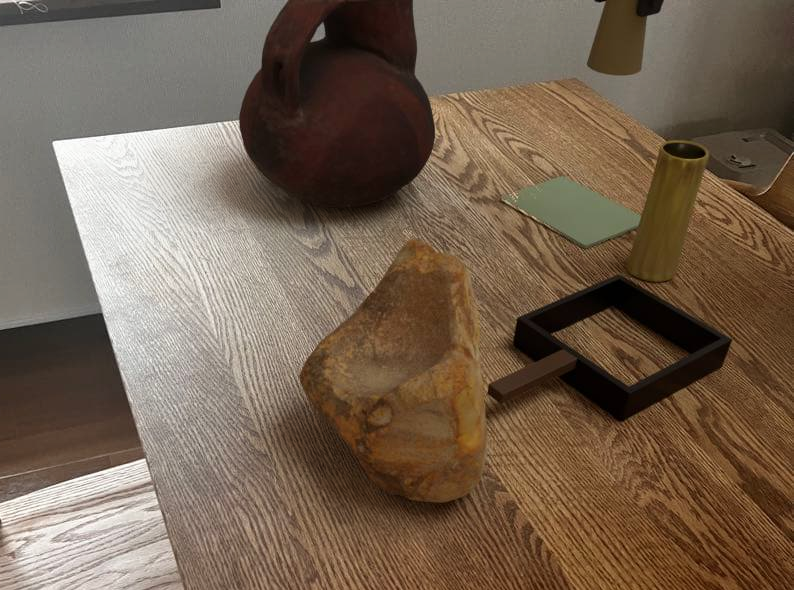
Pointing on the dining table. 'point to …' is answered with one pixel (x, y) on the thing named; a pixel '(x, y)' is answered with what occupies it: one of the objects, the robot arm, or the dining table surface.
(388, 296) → the rough brown rock
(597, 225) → the mat
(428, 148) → the jug
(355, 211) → the dining table surface
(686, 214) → the vase
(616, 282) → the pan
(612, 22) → the olive pawn figure
